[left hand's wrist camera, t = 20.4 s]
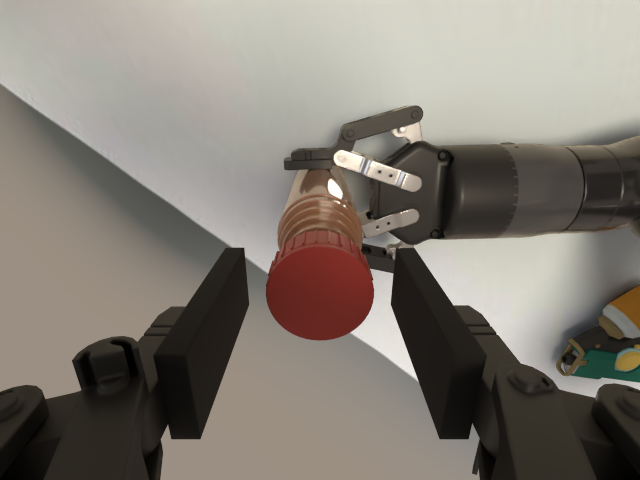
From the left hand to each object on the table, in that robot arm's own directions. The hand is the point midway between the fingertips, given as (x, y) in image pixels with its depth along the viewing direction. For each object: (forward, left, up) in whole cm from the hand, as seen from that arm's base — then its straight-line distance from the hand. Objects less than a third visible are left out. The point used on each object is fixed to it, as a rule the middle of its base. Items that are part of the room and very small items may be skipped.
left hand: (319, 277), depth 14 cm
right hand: (-2, -2, -14) cm, 15 cm away
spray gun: (+41, +9, -21) cm, 47 cm away
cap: (0, 0, +1) cm, 1 cm away
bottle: (0, 0, -21) cm, 21 cm away
